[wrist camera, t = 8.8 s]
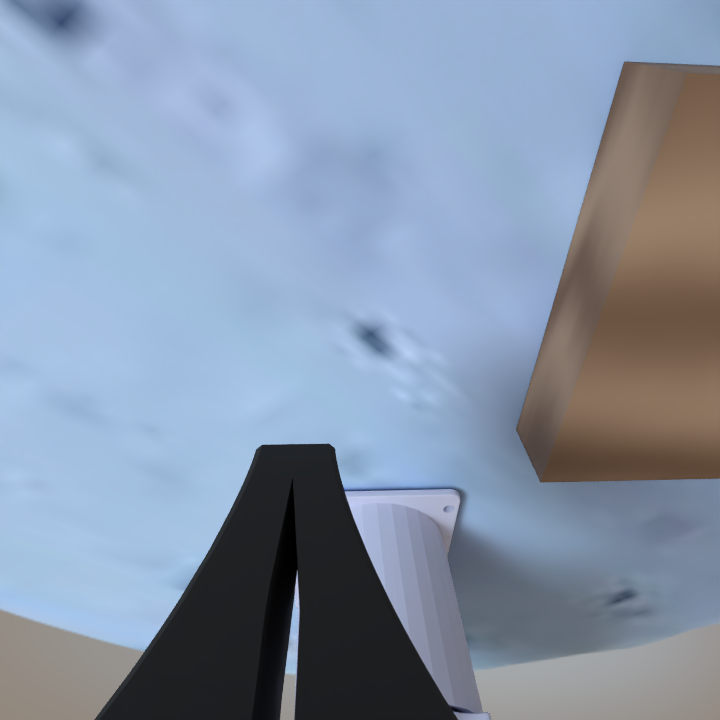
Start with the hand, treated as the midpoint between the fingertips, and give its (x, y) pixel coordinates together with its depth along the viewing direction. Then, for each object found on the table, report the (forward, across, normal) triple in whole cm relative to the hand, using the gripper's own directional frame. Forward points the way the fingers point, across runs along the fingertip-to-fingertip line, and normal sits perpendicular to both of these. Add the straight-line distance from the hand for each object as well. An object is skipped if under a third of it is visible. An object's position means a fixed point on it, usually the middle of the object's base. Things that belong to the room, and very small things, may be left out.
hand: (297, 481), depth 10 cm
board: (+9, -15, 0) cm, 18 cm away
